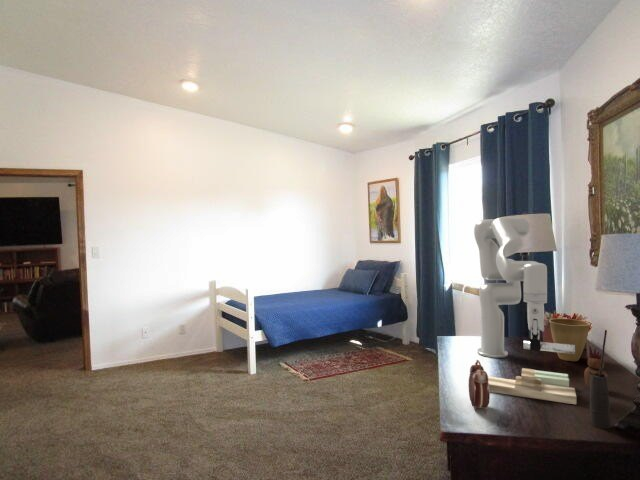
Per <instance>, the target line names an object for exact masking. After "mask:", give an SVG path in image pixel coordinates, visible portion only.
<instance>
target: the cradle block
mask: <svg viewBox="0 0 640 480" xmlns="http://www.w3.org/2000/svg"><path fill="white" fill-rule="evenodd" d="M534 370H535V378H536V379H541V384H549V385H556V386H563V387H570V378H569V374H568V373H560V372H553V371H546V370H545V371H544V370H538V369H537V370H536V369H534Z"/></svg>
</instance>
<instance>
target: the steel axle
mask: <svg viewBox="0 0 640 480" xmlns="http://www.w3.org/2000/svg"><path fill="white" fill-rule="evenodd" d="M522 342H523V344H522V345H523V346H522V347H523V349H524V350H530V340H525V339H523V341H522ZM541 351H542V352H551V353H557V352H560V353H570V354H575V345H569V344H558V343H554V342H544V341H540V351H539V352H541Z"/></svg>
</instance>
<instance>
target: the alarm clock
mask: <svg viewBox="0 0 640 480" xmlns="http://www.w3.org/2000/svg"><path fill="white" fill-rule="evenodd" d="M488 376H489V374H488V372H486V371H485V369H484V367H483V366H482V364H481V362H480V360H478V359H477V360H476V361H475V364H472V365H471V366H470V367H469V377H468V395H469V400H470V404H471V406H472V407H473V408H474V411H475V412H476V411H477V408H481V409H482V408H483V410H484V413H487V408H488V407H489V404H490V398H491V397H490V396H491V395H490V394H491V393H490V390H489V382H488Z"/></svg>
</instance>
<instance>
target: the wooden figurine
mask: <svg viewBox="0 0 640 480" xmlns="http://www.w3.org/2000/svg"><path fill="white" fill-rule="evenodd" d="M588 350H589V351H588V355H589V356H588V357H589V358H588V359H587V365H588V366H587V367H586V368H585V370H584V373H583V374H584V375H583V376H584V383H585V384H586V386H587V388H588V389H589V390H590V374H589V373H588V372H589V371H591V372H592V373H595V374H596V373H599V371H600V364H601V357H602V353H600V352H599V351H597V349H596V348H595V347H594V348H593V350H592V347H591V345H589V349H588ZM604 367H605V362H604V360H603V365H602V373H601V374H605V375H607V379H609V378H608V374H607V372H606V371H605V370H604Z"/></svg>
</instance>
